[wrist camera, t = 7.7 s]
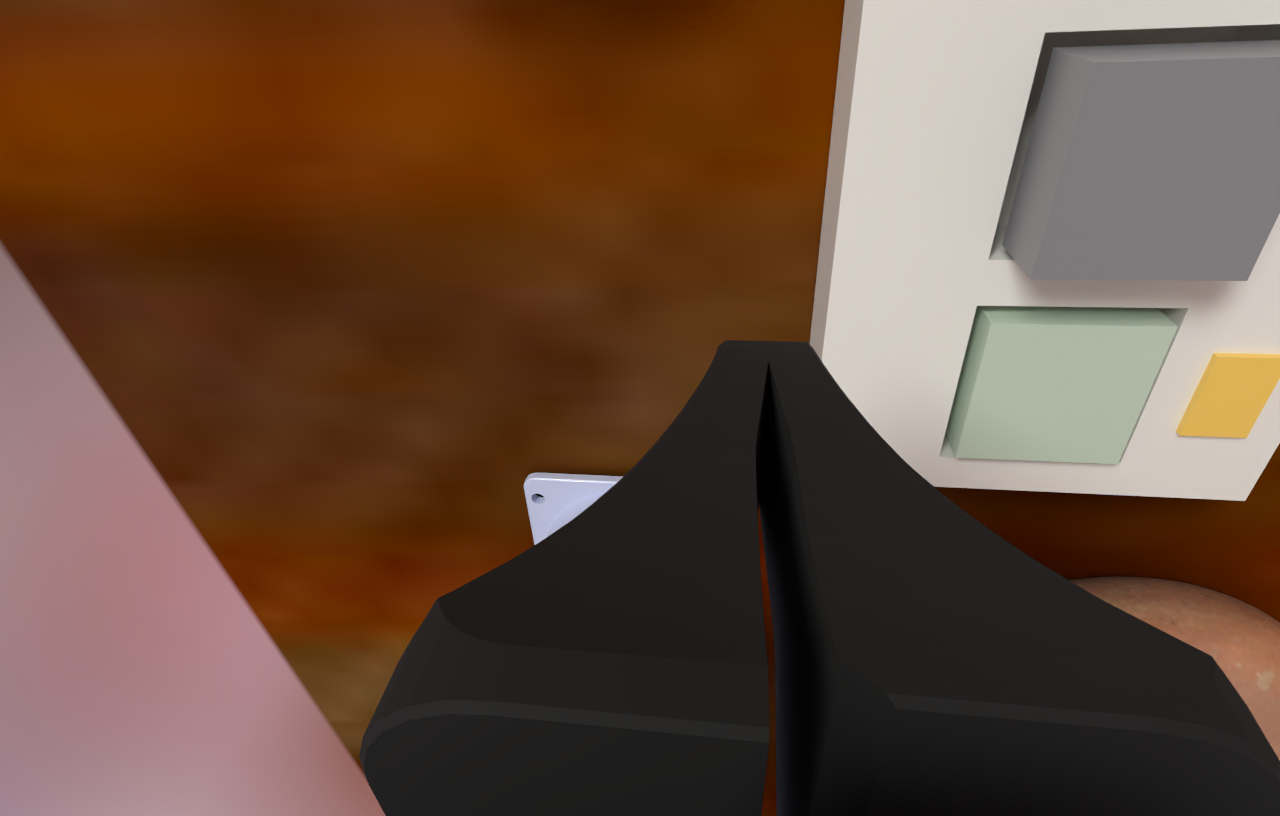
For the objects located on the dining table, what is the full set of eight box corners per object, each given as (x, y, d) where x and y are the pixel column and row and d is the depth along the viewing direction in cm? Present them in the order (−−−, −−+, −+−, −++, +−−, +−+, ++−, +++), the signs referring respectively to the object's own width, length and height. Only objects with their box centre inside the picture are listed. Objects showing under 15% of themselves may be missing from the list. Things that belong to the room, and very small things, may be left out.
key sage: (1087, 421, 20) (1117, 464, 19) (939, 416, 21) (955, 457, 19) (1138, 291, 18) (1177, 326, 16) (970, 289, 19) (991, 323, 17)
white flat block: (1189, 437, 22) (1249, 505, 19) (801, 423, 23) (808, 485, 21) (1659, -508, 11) (1938, -641, 9) (887, -415, 13) (924, -506, 10)
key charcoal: (1195, 245, 16) (1247, 281, 14) (1002, 245, 16) (1030, 279, 15) (1282, 40, 14) (1355, 54, 12) (1053, 47, 14) (1093, 62, 12)
